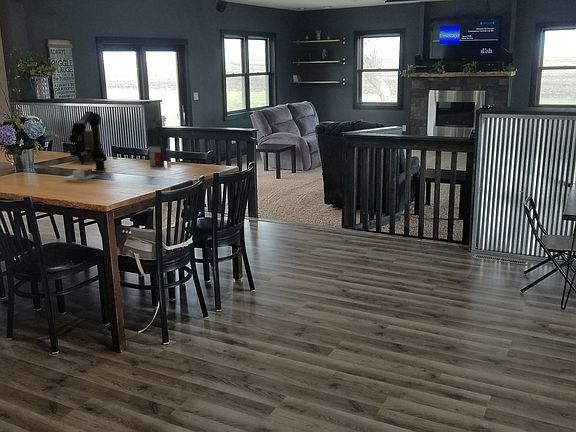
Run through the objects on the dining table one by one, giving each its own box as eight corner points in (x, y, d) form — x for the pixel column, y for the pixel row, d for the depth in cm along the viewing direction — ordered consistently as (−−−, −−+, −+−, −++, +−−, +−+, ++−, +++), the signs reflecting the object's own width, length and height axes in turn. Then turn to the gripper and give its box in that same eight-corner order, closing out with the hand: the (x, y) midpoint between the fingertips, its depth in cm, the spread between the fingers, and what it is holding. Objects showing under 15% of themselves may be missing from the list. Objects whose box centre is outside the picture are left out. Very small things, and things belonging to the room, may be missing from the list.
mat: (75, 174, 402) (75, 174, 402) (99, 175, 398) (99, 174, 398) (61, 178, 386) (61, 178, 386) (86, 179, 383) (86, 179, 383)
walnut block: (82, 168, 400) (72, 171, 389) (91, 168, 399) (82, 171, 388) (83, 174, 401) (73, 177, 390) (92, 174, 400) (83, 177, 389)
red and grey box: (149, 166, 436) (148, 146, 432) (152, 165, 439) (151, 145, 436) (161, 167, 431) (160, 147, 428) (164, 166, 435) (163, 146, 431)
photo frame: (85, 158, 482) (82, 127, 476) (103, 159, 470) (100, 128, 464) (70, 160, 469) (67, 128, 463) (88, 162, 458) (85, 130, 452)
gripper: (77, 139, 401) (79, 162, 404) (61, 142, 383) (64, 166, 387) (92, 140, 399) (94, 162, 402) (77, 143, 381) (79, 167, 384)
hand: (82, 164), depth 394 cm, fingers closed
